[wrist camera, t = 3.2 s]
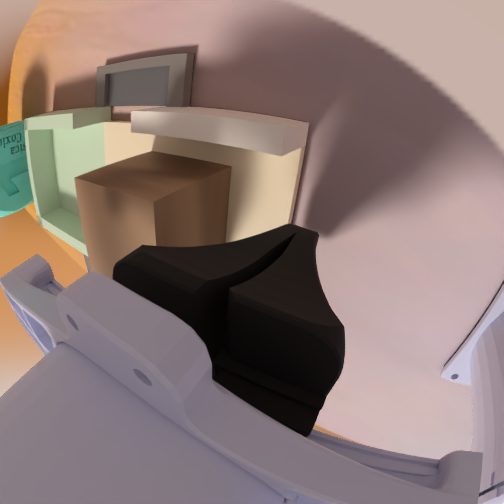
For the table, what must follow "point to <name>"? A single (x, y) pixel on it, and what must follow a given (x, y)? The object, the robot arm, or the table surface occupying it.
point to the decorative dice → (14, 169)
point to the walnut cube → (151, 205)
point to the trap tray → (163, 146)
